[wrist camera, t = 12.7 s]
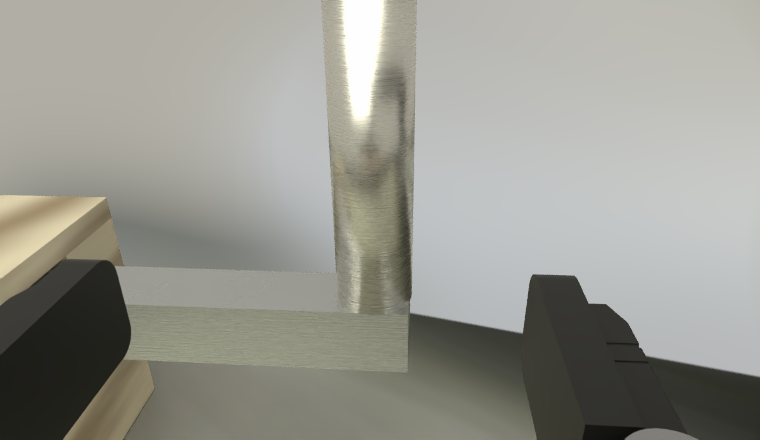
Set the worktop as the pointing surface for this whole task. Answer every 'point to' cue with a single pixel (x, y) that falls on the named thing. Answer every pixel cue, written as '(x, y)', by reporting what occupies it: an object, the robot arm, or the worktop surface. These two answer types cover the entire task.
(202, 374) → the worktop surface
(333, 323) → the crank handle
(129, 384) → the bearing block
